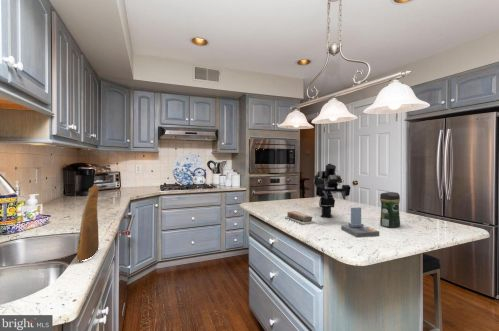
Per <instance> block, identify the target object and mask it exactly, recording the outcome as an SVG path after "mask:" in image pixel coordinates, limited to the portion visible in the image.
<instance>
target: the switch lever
mask: <svg viewBox="0 0 499 331" xmlns="http://www.w3.org/2000/svg"><path fill="white" fill-rule="evenodd" d="M347 225H349V226H351V227H364V225H365V224H364V223H362V207H361V206H353V207H350V222H348V224H347Z"/></svg>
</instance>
